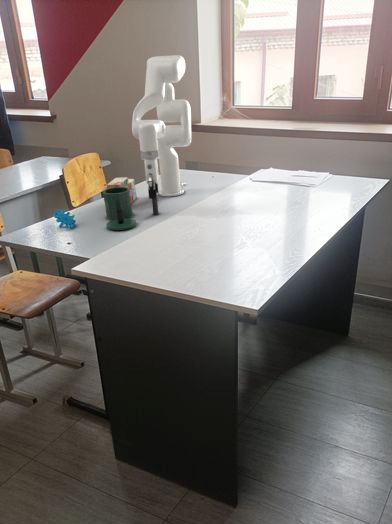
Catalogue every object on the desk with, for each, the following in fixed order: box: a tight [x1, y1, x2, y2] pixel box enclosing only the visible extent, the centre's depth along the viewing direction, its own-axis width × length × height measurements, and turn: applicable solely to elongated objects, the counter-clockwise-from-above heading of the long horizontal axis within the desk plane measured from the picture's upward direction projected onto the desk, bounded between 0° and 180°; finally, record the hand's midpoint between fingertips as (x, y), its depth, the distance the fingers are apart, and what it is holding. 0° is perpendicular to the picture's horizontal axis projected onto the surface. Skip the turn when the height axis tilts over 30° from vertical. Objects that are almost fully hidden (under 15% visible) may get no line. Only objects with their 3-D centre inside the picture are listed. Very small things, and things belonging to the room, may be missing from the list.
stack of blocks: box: [106, 176, 138, 204], centre depth 240 cm, size 21×6×12 cm, turn 168°
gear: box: [53, 208, 77, 230], centre depth 218 cm, size 11×6×10 cm
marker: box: [151, 191, 160, 216], centre depth 225 cm, size 2×2×10 cm
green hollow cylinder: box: [102, 187, 134, 221], centre depth 224 cm, size 12×12×12 cm
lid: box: [105, 210, 137, 231], centre depth 213 cm, size 13×13×7 cm
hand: (153, 195), depth 222 cm, fingers open, 9 cm apart
